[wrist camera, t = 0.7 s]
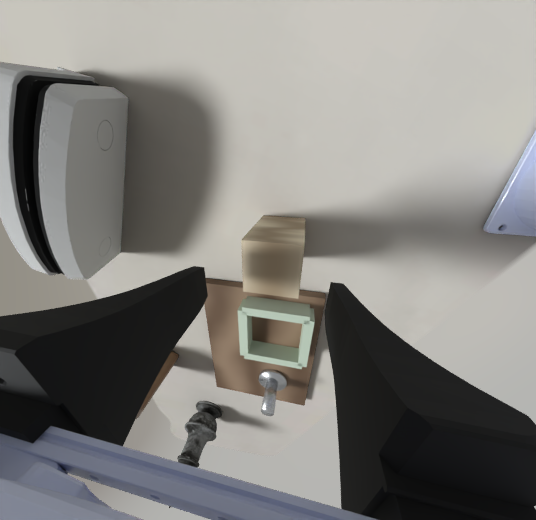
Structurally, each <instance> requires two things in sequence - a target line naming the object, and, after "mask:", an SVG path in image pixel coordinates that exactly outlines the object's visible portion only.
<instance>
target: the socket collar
mask: <svg viewBox="0 0 536 520" xmlns="http://www.w3.org/2000/svg"><path fill="white" fill-rule="evenodd" d="M252 316H254V317H261V318H268V319H274V320H281V321H287V322H294V323H300V324H302V330H301V337H300V344H299V348H294V347H288V346H282V345H277V344H271V343H265V342H259V341H253V340H252ZM314 323H315V319H314V309H313V308H310V304H303V303H296V302H289V301H281V300H274V299H267V298H259V297H252V296H247V298H246V299H243V300H242V302H241V304H240V306H239V308H238V326H239V344H240V355H243V356H244V359H250V360H255V361H260V362H266V363H271V364H276V365H281V366H287V367H292V368H297V369H302V367H307V362H308V356H309V350H310V345H311V339H312V334H313V328H314Z"/></svg>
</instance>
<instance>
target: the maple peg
mask: <svg viewBox="0 0 536 520" xmlns="http://www.w3.org/2000/svg"><path fill="white" fill-rule="evenodd" d="M241 245H242V272H243V292H251V293H258V294H266V295H273V296H281V297H288V298H296V299H298V297H299V289H300V280H301V272H302V264H303V255H304V247H305V218H292V217H278V216H263V217H262V218H261V219H260V220H259V221H258V222H257V223H256V224H255V225H254V226H253V228H252V229H251V230H250V231H249V232H248V233H247V234H246V235H245V236H244V238H243V239H242V240H241Z"/></svg>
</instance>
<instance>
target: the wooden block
mask: <svg viewBox="0 0 536 520" xmlns="http://www.w3.org/2000/svg"><path fill="white" fill-rule="evenodd" d="M178 356H179V355H178V354H176V353H174V352H173V351H171V353H170V355H169V356H168V358H167V360H166V361H165V363H164V365H163V367H162V368H161V370H160V372H159V374H158V376H157V377H156V379H155V381H154V383H153V385H152V387H151V389H150V390H149V392H148V394H147V396H146V398H145V400H144V402H143V404H142V406H141V408H140V410H139V412H138V414H137V416H136V419H137V418H138V417H139V416H140V414H141V412H142V411H143V410H144V408H145V407H146V405H147V404H148V402H149V401H150V399H151V398H152V396H153V395H154V393H155V392H156V391H157V389H158V388H159V386H160V385H161V383H162V382H163V380H164V379H165V377H166V376H167V374H168V373H169V371H170V370H171V368H172V367H173V365H174V364H175V362H176V361H177V359H178Z"/></svg>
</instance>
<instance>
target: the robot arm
mask: <svg viewBox="0 0 536 520" xmlns="http://www.w3.org/2000/svg"><path fill="white" fill-rule="evenodd" d="M501 225H502V227H501V228H500V229H498V228H499V227H500V226H501ZM483 229H484V231H486V232H488V233H495V234H509V235H523V236H536V131H535V132H534V134H533V136H532V138H531V140H530V142H529V144H528V145H527V147H526V149H525V151H524V153H523V155H522V156H521V158H520V160H519V162H518V164H517V166H516V168H515V169H514V171H513V173H512V175H511V177H510V179H509V180H508V182H507V184H506V186H505V188H504V190H503V192H502V193H501V195H500V197H499V199H498V201H497V203H496V204H495V206H494V208H493V210H492V212H491V214H490V216H489V217H488V219H487V221H486V223H485V225H484V227H483ZM207 297H208V293H207V285H206V278H205V271H204V267H196V266H194V267H190V268H188V269H185V270H182V271H180V272H177V273H175V274H172V275H170V276H167V277H165V278H162V279H160V280H157V281H155V282H152V283H149V284H147V285H144V286H141V287H139V288H136V289H133V290H130V291H127V292H123V293H120V294H117V295H113V296H110V297H106V298H102V299H98V300H94V301H89V302H85V303H81V304H76V305H71V306H66V307H61V308H55V309H49V310H43V311H36V312H29V313H23V314H15V315H8V316H1V317H0V520H142V519H139V518H137V517H134V516H132V515H129V514H126V513H123V512H120V511H117V510H114V509H112V508H111V507H109V506H108V505H107V504H105V503H104V502H102V501H101V500H99V499H98V498H97V497H96V496H95V495H94V494H93V493H92V492H90V491H89V489H88V488H87V486H86V485H85V483H83V482H81V481H79V480H77V479H75V478H73V477H71V476H69V475H67V473H70V474H73V475H76V476H79V477H82V478H85V479H89V480H91V481H95V482H98V483H101V484H104V485H107V486H110V487H113V488H116V489H119V490H122V491H125V492H129V493H131V494H135V495H138V496H141V497H144V498H147V499H150V500H153V501H156V502H159V503H162V504H165V505H168V506H171V507H174V508H177V509H180V510H183V511H186V512H190V513H193V514H196V515H199V516H202V517H205V518H208V519H211V520H536V509H535V508H534V506H536V425H535V423H534V422H533V421H532V420H531V419H530V418H529V417H528V416H527V415H525V414H523V413H522V412H519V411H518V410H516V409H514V408H513V407H511V406H509V405H507V404H505V403H503V402H502V401H500V400H498V399H496V398H494V397H492V396H491V395H489V394H487V393H485V392H483V391H482V390H479V389H478V388H476V387H474V386H473V385H471V384H469V383H468V382H466V381H464V380H463V379H461V378H459V377H457V376H456V375H454V374H453V373H451V372H449V371H448V370H446V369H445V368H443V367H441V366H440V365H438V364H437V363H435V362H433V361H432V360H431V359H429V358H428V357H426V356H425V355H423V354H422V353H420V352H419V351H418V350H416V349H414V348H413V347H412V346H410V345H409V344H408V343H406V342H405V341H404V340H402V339H401V338H400V337H399V336H397V335H396V334H395V333H393V332H392V331H391V330H390V329H388V328H387V327H386V326H385V325H384V324H383V323H382V322H380V321H379V320H378V319H377V318H376V317H375V316H374V315H373V314H372V313H371V312H370V311H369V310H368V309H367V308H366V307H365V306H364V305H363V304H362V303H361V302H360V301H359V300H358V299H357V298H356V297H355V296H354V295H353V294H352V293H351V292H350V291H349V289H348V288H347V287H346V286H345V285H344V284H341V283H333V282H331V284H330V289H329V294H328V299H327V304H326V309H325V328H326V335H327V341H328V346H329V352H330V357H331V363H332V368H333V375H334V383H335V395H336V408H337V423H338V439H339V458H340V481H341V507H342V509H339V508H336V507H332V506H329V505H325V504H322V503H319V502H315V501H311V500H308V499H305V498H301V497H298V496H294V495H290V494H287V493H283V492H279V491H277V490H273V489H269V488H266V487H262V486H259V485H256V484H252V483H248V482H245V481H242V480H238V479H235V478H231V477H228V476H224V475H221V474H217V473H214V472H210V471H206V470H203V469H200V468H196V467H193V466H189V465H186V464H182V463H179V462H175V461H172V460H168V459H165V458H161V457H158V456H154V455H151V454H147V453H144V452H140V451H137V450H133V449H130V448H127V447H123V444H124V442H125V440H126V437H127V436H128V433H129V431H130V429H131V427H132V425H133V423H134V421H135V419H136V416H137V414H138V412H139V410H140V408H141V406H142V404H143V402H144V400H145V398H146V396H147V394H148V392H149V390H150V389H151V387H152V385H153V383H154V381H155V379H156V377H157V376H158V374H159V372H160V370H161V368H162V367H163V365H164V363H165V361H166V360H167V358H168V356H169V355H170V353H171V351H172V350H173V348H174V347H175V345H176V344H177V342H178V341H179V339H180V338H181V337H182V335H183V334H184V333H185V331H186V330H187V328H188V327H189V326H190V324H191V323H192V322H193V320H194V319H195V317H196V316H197V315H198V313H199V312H200V310H201V308H202V307H203V305H204V303H205V301H206V299H207Z"/></svg>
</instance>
